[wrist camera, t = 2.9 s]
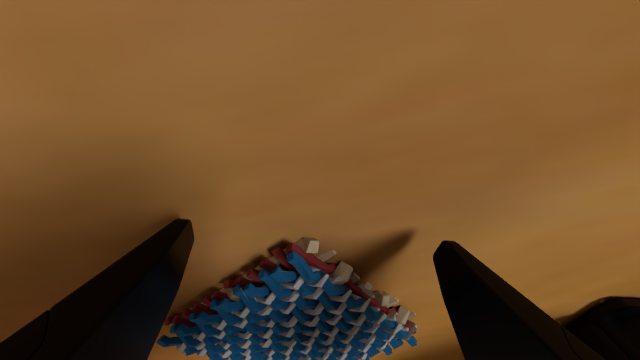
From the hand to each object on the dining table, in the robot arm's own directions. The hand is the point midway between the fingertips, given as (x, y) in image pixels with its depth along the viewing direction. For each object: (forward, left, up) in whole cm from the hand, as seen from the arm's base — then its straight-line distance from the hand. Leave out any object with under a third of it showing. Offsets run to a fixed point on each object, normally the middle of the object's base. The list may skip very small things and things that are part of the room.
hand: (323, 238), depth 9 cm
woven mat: (0, +8, -2) cm, 8 cm away
